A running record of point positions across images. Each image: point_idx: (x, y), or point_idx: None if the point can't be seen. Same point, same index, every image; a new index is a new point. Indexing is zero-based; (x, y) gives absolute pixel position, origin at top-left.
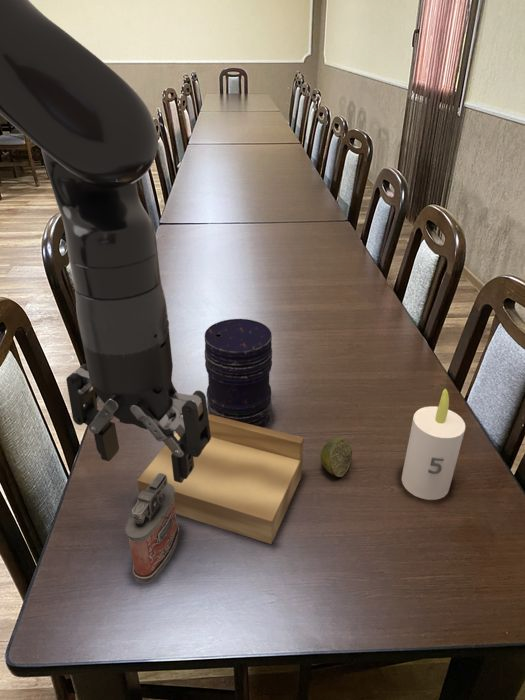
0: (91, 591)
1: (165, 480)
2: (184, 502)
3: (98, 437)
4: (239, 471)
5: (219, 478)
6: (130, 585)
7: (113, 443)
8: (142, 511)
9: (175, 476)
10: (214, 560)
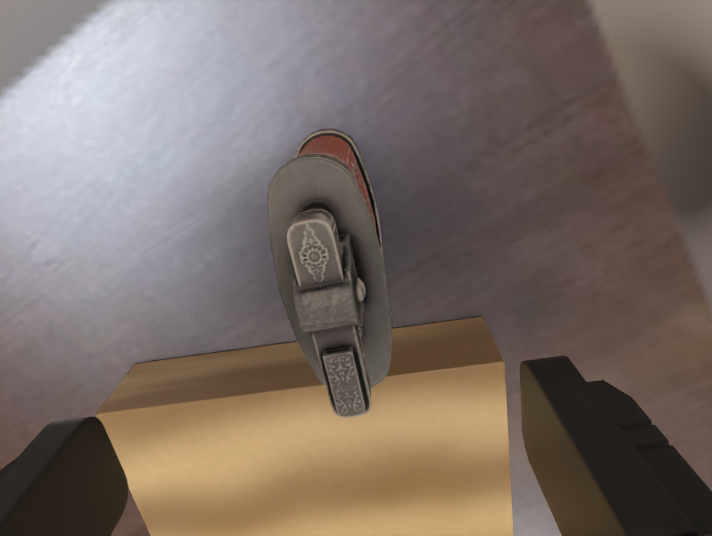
0: (416, 37)
1: (329, 396)
2: None
3: (659, 505)
4: (272, 498)
5: (301, 461)
6: (338, 109)
7: (551, 479)
8: (289, 243)
9: (48, 445)
10: (211, 270)
